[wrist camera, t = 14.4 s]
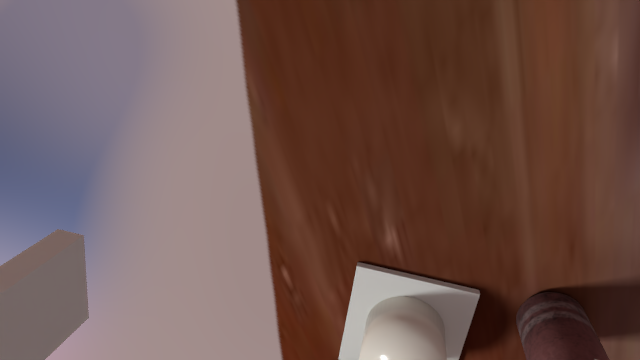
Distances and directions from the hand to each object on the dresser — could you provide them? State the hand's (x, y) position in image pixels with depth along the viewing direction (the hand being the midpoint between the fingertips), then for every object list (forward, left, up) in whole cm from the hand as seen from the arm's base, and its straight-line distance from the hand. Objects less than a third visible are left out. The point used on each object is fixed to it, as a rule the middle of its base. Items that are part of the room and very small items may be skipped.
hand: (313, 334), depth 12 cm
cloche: (+23, +6, -31) cm, 39 cm away
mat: (+23, +6, -32) cm, 40 cm away
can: (+18, +19, -32) cm, 41 cm away
